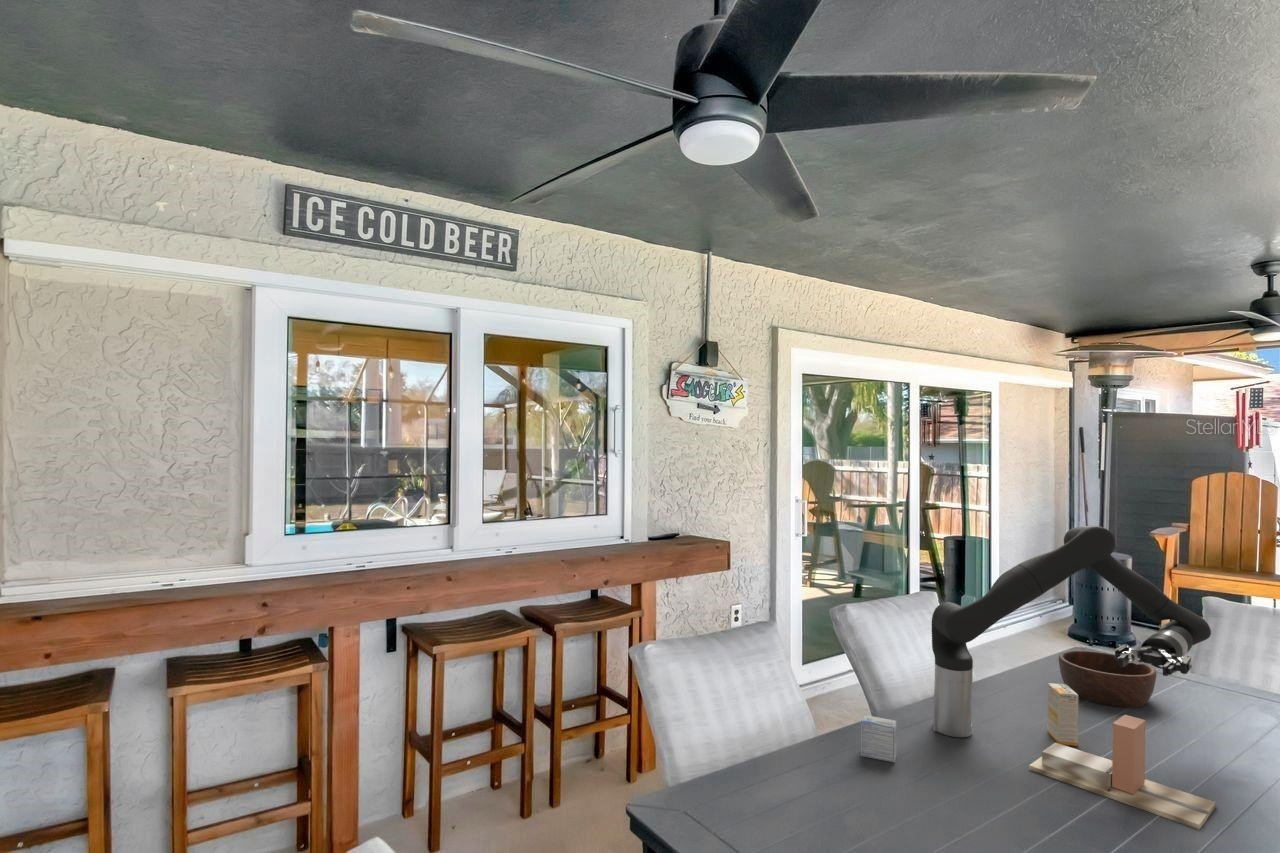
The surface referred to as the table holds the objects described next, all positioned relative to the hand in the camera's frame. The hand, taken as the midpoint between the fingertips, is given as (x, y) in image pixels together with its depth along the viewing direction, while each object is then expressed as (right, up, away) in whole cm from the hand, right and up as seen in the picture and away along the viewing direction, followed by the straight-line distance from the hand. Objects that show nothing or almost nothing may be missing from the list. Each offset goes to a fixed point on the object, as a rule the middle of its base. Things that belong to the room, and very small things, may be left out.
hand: (1142, 667), depth 163 cm
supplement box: (-6, -26, +20) cm, 33 cm away
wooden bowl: (+26, -27, +53) cm, 65 cm away
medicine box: (-58, -25, +8) cm, 64 cm away
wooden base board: (-9, -25, -5) cm, 27 cm away
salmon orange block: (-8, -24, -7) cm, 26 cm away
